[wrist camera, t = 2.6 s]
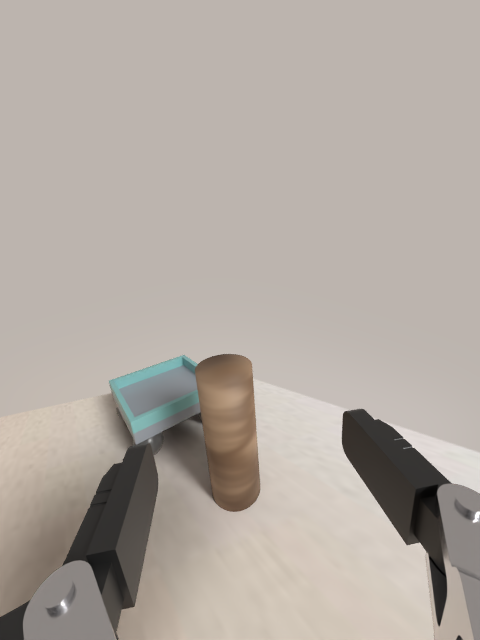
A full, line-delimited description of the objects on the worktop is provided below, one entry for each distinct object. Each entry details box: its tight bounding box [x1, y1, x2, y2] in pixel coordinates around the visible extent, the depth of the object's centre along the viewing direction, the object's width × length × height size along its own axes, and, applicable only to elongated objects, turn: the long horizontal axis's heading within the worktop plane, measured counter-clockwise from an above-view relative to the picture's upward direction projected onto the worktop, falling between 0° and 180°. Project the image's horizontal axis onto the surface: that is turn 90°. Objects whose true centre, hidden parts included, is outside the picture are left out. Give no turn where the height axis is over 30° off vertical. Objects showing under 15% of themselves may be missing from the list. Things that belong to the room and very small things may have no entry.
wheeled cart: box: [109, 355, 202, 455], centre depth 36 cm, size 12×12×6 cm
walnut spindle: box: [195, 354, 260, 512], centre depth 24 cm, size 5×5×14 cm
